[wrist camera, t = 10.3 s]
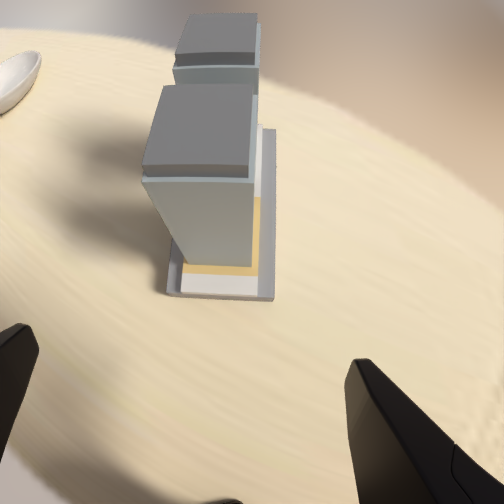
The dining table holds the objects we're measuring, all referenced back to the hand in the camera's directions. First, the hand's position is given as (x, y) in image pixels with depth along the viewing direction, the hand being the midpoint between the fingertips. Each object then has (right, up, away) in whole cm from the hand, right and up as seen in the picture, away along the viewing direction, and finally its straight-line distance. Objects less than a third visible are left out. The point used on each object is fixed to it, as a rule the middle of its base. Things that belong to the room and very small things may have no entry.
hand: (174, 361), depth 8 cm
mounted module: (0, +10, +16) cm, 19 cm away
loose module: (0, +4, +14) cm, 14 cm away
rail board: (0, +6, +16) cm, 17 cm away
